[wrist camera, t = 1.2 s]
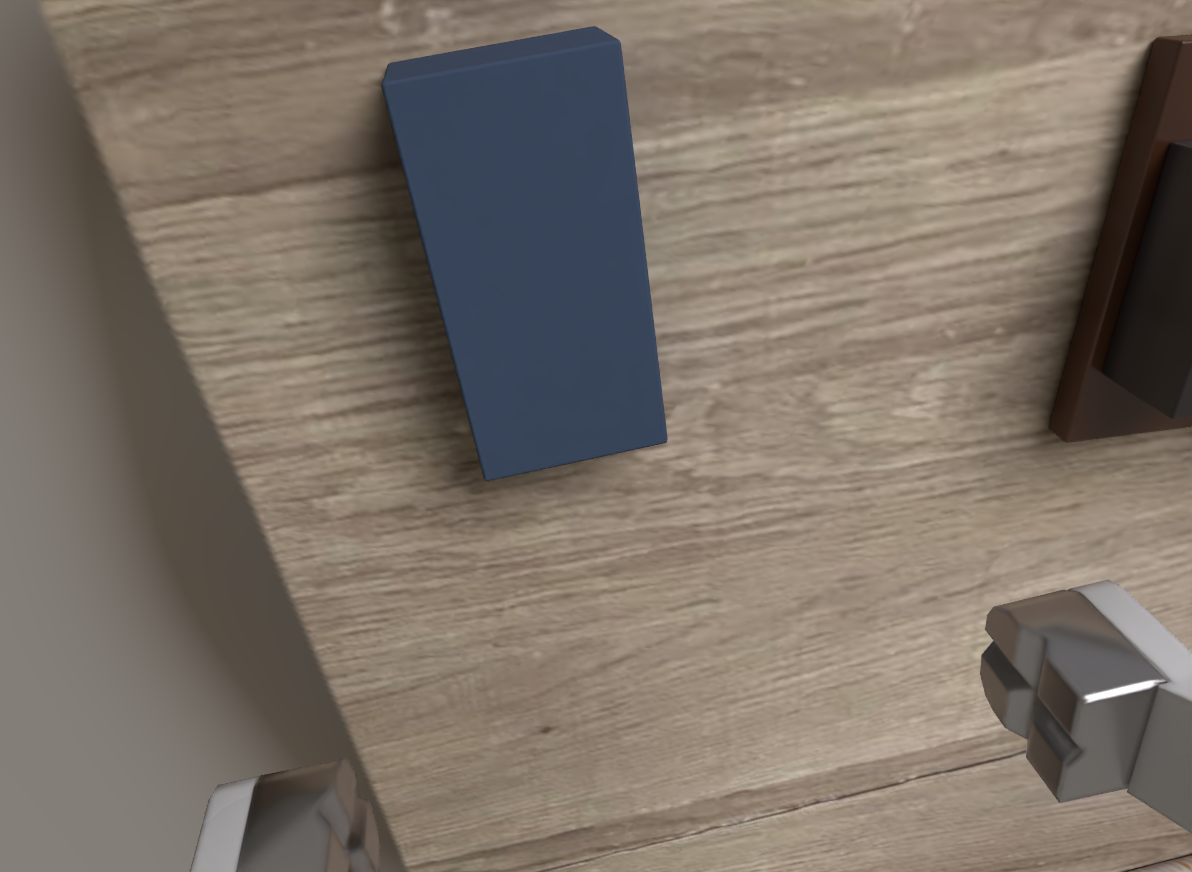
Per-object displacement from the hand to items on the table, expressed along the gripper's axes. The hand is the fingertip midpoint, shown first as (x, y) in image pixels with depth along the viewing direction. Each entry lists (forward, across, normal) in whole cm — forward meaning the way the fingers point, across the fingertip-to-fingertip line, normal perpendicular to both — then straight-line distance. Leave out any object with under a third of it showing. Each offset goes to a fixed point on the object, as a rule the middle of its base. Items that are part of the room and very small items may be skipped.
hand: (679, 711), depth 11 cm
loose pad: (+15, 0, -1) cm, 15 cm away
